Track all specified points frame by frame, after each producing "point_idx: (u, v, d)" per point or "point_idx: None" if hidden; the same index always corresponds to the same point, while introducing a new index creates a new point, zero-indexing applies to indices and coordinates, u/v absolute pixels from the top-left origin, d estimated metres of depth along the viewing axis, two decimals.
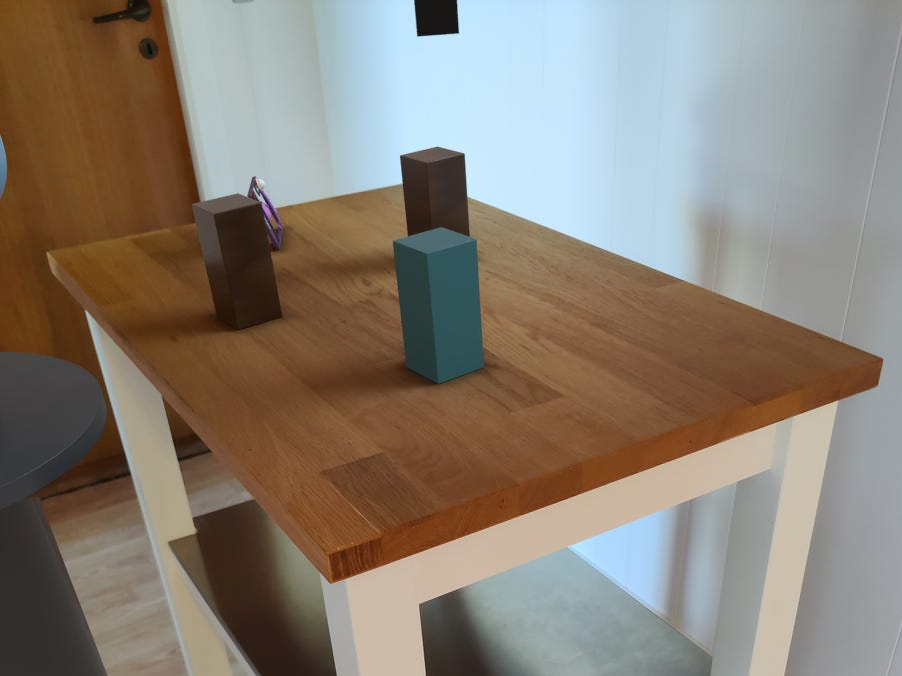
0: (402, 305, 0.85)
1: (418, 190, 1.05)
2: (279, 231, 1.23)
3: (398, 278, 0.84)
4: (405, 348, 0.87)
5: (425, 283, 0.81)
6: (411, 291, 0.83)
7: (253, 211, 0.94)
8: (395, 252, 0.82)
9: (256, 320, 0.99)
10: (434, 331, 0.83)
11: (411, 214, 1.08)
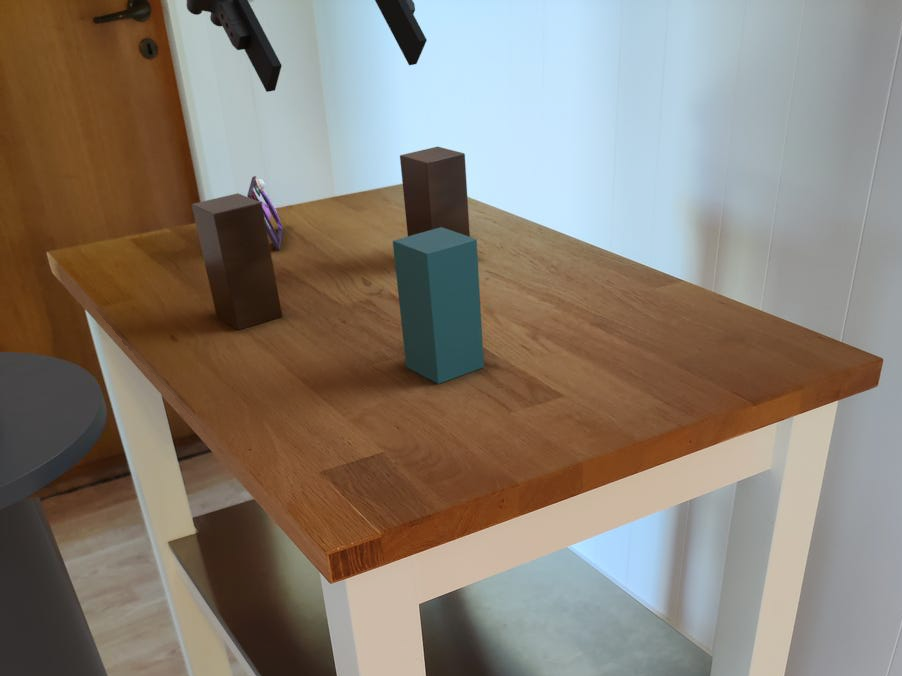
0: (402, 305, 0.85)
1: (418, 190, 1.05)
2: (279, 231, 1.23)
3: (398, 278, 0.84)
4: (405, 348, 0.87)
5: (425, 283, 0.81)
6: (411, 291, 0.83)
7: (253, 211, 0.94)
8: (395, 252, 0.82)
9: (256, 320, 0.99)
10: (434, 331, 0.83)
11: (411, 214, 1.08)
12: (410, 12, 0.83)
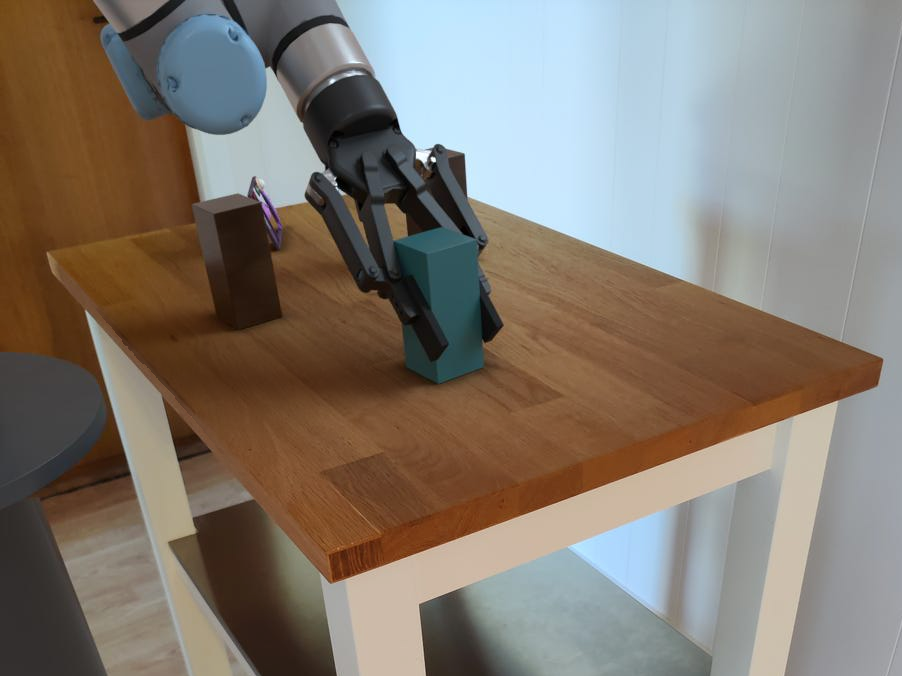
0: None
1: None
2: (279, 231, 1.23)
3: None
4: (405, 348, 0.87)
5: (424, 283, 0.81)
6: None
7: (253, 211, 0.94)
8: None
9: (256, 320, 0.99)
10: None
11: None
12: (487, 298, 0.84)
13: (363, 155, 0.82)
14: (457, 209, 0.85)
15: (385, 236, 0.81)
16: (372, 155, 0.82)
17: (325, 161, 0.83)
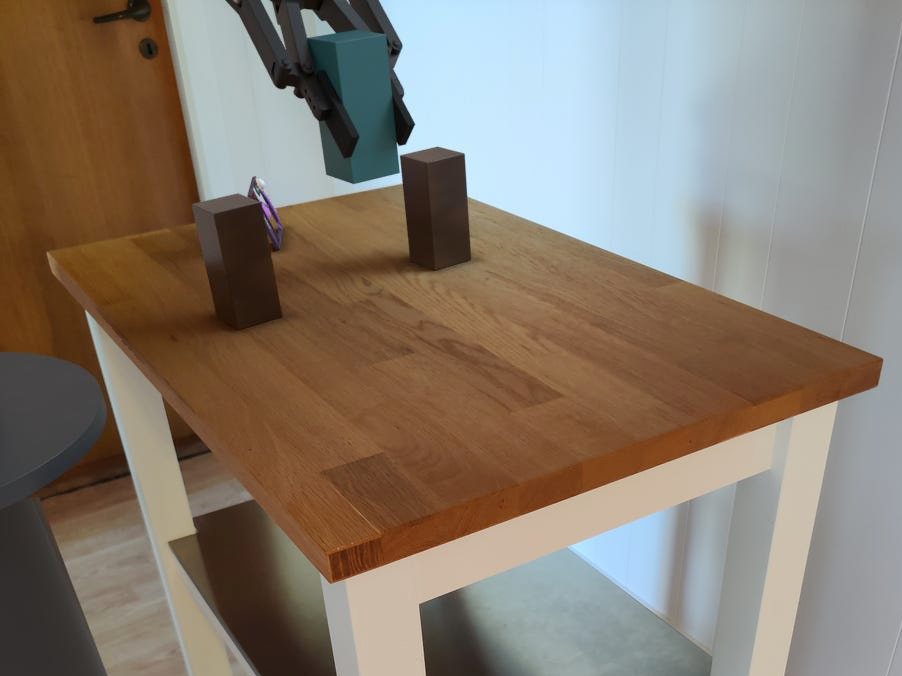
0: None
1: (418, 190, 1.05)
2: (279, 231, 1.23)
3: None
4: (324, 154, 0.91)
5: (335, 75, 0.84)
6: None
7: (253, 211, 0.94)
8: None
9: (256, 320, 0.99)
10: None
11: (411, 214, 1.08)
12: (399, 98, 0.87)
13: None
14: (372, 15, 0.89)
15: (299, 33, 0.85)
16: None
17: None
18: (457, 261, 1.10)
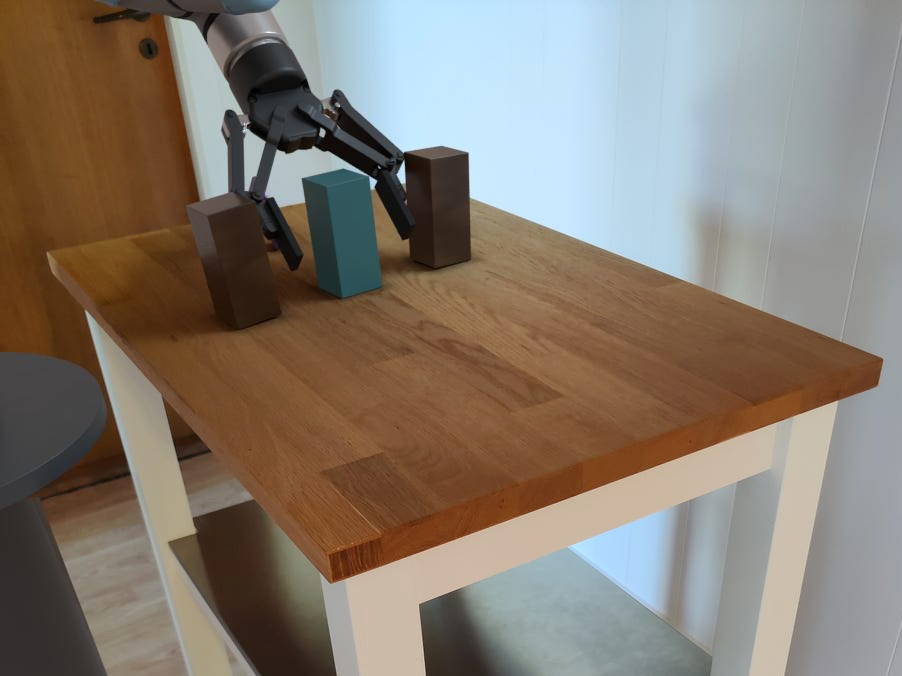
0: (312, 233, 1.03)
1: (421, 187, 1.05)
2: None
3: (307, 210, 1.02)
4: (317, 271, 1.05)
5: (326, 212, 0.99)
6: (317, 220, 1.01)
7: (247, 210, 0.93)
8: (304, 188, 1.00)
9: (255, 319, 0.99)
10: (336, 253, 1.01)
11: (413, 212, 1.08)
12: (403, 202, 1.04)
13: (277, 107, 1.00)
14: (371, 138, 1.05)
15: (265, 168, 0.98)
16: (284, 110, 1.00)
17: (246, 114, 1.01)
18: (457, 260, 1.10)
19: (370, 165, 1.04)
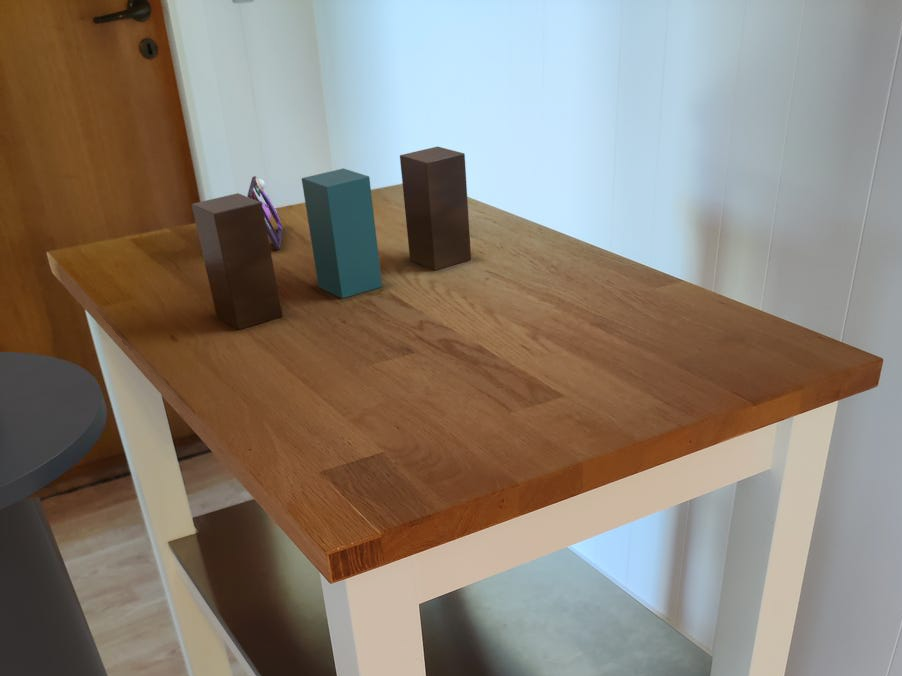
0: (312, 233, 1.03)
1: (418, 190, 1.05)
2: (279, 231, 1.23)
3: (307, 210, 1.02)
4: (317, 271, 1.05)
5: (326, 212, 0.99)
6: (317, 220, 1.01)
7: (254, 211, 0.94)
8: (304, 188, 1.00)
9: (256, 320, 0.99)
10: (336, 253, 1.01)
11: (411, 214, 1.08)
12: None
13: None
14: None
15: None
16: None
17: None
18: (457, 261, 1.10)
19: None
